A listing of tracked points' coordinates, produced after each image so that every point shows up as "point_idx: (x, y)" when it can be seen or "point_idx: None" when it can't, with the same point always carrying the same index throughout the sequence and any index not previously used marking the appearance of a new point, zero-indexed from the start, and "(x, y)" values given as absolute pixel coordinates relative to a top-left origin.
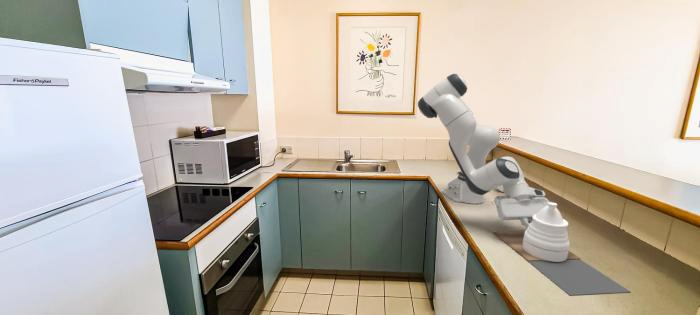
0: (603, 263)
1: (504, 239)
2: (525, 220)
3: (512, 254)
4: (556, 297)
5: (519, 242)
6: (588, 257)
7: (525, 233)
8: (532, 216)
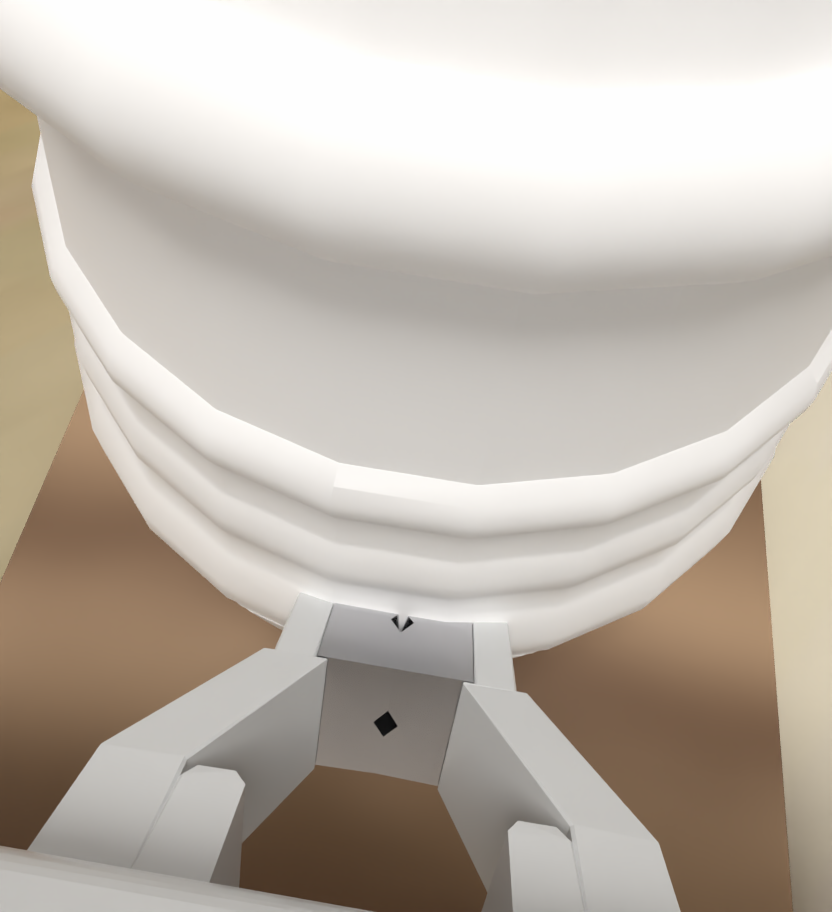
0: (14, 150)
1: (767, 859)
2: (611, 823)
3: (829, 490)
4: None
5: (576, 697)
6: (18, 244)
7: (768, 464)
8: (233, 891)
